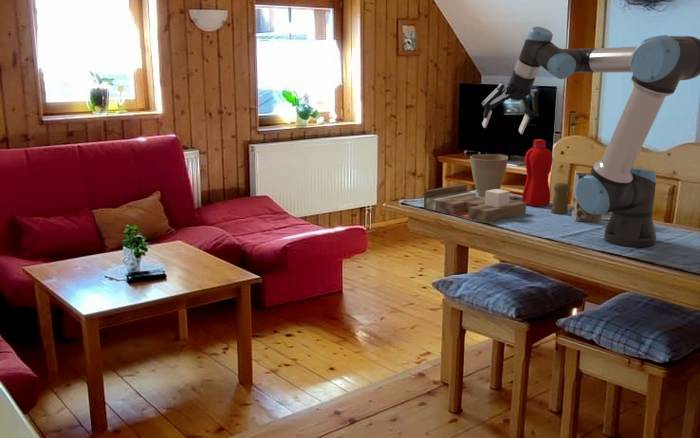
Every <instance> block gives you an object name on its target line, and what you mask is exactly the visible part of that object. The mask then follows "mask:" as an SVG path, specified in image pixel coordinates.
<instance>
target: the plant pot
mask: <svg viewBox="0 0 700 438" xmlns="http://www.w3.org/2000/svg"><path fill="white" fill-rule="evenodd" d="M469 159H470V167H471V168H470V169H471V172H472V173H471V175H472V178H473V183H474V187H475V189H476V192H477V197H484V196H485V191H487V190H493V189H500V190H501V187H502V184H503V181H504V178H505V175H506V170H507V166H508V159H509V157H508V156H506V155H501V154H486V153H485V154H472V155H471V156H469Z"/></svg>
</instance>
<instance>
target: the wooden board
mask: <svg viewBox="0 0 700 438" xmlns="http://www.w3.org/2000/svg"><path fill="white" fill-rule="evenodd" d="M423 209H427V210H431V211H434V212H440V213H443V214H448V215H451V216H457V217H461V218H465V219H469V220H473V221H476V222H477V221H478V222H481V223H485V224H486V223H491V222H495V221H499V220H504V219H507V218H508V219H509V218H513V217H518V216H521V215H526V213H527V212H526V211H527V205H526V203H525V202H522V201H520V200H513V199H510V198H509V205H507V206H503V207H494V206H489V205H485V196H484V197H480V196H476V192H474V191H469V190H468V185H467V184H466V183H462V184H457V185H451V186H444V187H438V188H434V189H427V190H424V191H423Z"/></svg>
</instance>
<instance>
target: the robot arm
mask: <svg viewBox="0 0 700 438" xmlns="http://www.w3.org/2000/svg"><path fill="white" fill-rule="evenodd" d="M553 35H554V34H553V33H552V31H551V30H549V29H548V28H545V27H541V26H533V27H531V28H530V29H529V31H528V34H527V35H526V38H525V40H524V43H523V46H522V48H521V51H520V54H519V57H518V59H517V61H516V62H515V63H516V64H515V66H514V70H513V71H512V74H511V76H510V79H509V82H508V84H505V83H503V82H502V81H499V82H498V85H497V87H496V88H494V90H493V91H491V92H490V94H489V95H487V97H486V98H485V99H483V101H482V102H481V106H482V108H483V109H484V111H483V114H482V116H483V121H482V122H481V125H482V127H483V128H484V129H487V126H488V124H489V121H490V119H491V115H492V113H493V109H494V108H496V107H498V106H500V104H502V103H504V102H505V101H508V100H514V101H515V100H516V101H518V102H519V101H522V103H523V104H524V107H525V110H526V113H524V116H523V118H522V121H521V123H520V125H519V128H518V132H519V134H520V135H523V134H524V131H525V129H526V127H527V126H529V125H530V123H531V122H532V120H533V119H534V118H537V117H539V116H540V115H539V114H540V113H539V103H538V96H539V93H540V92H539V90H538V89H537V88H533V89H532V87H533V84H534V82H535V79H536V77H537V75H538V72H539V70H540V69H541V67H542V68H543V69H544V70H546V71H547V72H548V74H550V75H551V76H553V77H555V78H557V79H559V80H566V78H568V77H570V76H571V75H572V74H583V73H584V74H595V73H597V74H598V73H605V74H606V73H609V74H610V73H611V74H612V73H632V76H631V78H630V80H631V82H632V84H633V88H632V90H631V92H630V95H629V96H628V100H627V102H626V104H625V106H624V108H623V111H622V113H621V116H620V117H619V120H618V122H617V123H616V124H617V125H616V127H615V129H614V131H613V134H612V135H611V138H610V140H609V143H608V145H607V146H606V149H605V152H604V154H603V156H602V158H601V160H599V161H596V162H595V163H594V164H593V166H592V168H591V170H590V172H589V173H590V174H589V175H586V176H584V177H582V178H581V179H580V180H579V181H578V183H577V185H576V197H577V199H578V203H579V205H580V206H581V208H582V209H583V210H585V211H586V212H588V213H590V214H602V215H605V214H607V213H611V216H610V217H609V218H610V219H609V220H608V222H607V225H606V227H605V230H604V233H603V234H604V235H603V239H604V240H605V241H606V242H607V243H610V244H613V245H617V246H618V245H619V246H624V247H633V248H634V247H635V248H642V247H643V248H644V247H651V246H655V245H656V244H657V243H656V242H657V234H656V228H655V225H654V221H653V213H654V205H655V195H656V187H657V186H656V185H657V173H656V172H655V171H654V170H652V169H648V168H642V167H637V166H636V167H635V166H634V165H635V163H636V160H637V158H638V156H639V154H640V152H641V150H642V147H643V146H644V144H645V141H646V139H647V138H648V135H649V132H650V130H651V128H652V126H653V124H654V122H655V120H656V118H657V115H658V113H659V111H660V109H661V108H662V105H663V103H664V101H665V99H666V97H668V96H671V95H673V94H675V91H676V89H677V87H678V85H679V83H680V81H688V80H691V79H695V78H697V77H698V76H700V38H698V37H695V36H690V35H688V36H687V35H684V36H683V35H677V36H676V35H667V34H664V35H663V34H662V35H657V36H650V37H648V38H646V39H643V40H642V41H641V42H640V43H639V44H638V45H637V46H620V47H618V46H617V47H600V48H599V47H598V48H593V47H590V48H560V47H558V46H557V45H555V44H554V43H553V42H552V40H553ZM529 95H531V102H532V109H531V107H530V105H529V101H528V99H527V96H529Z"/></svg>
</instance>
